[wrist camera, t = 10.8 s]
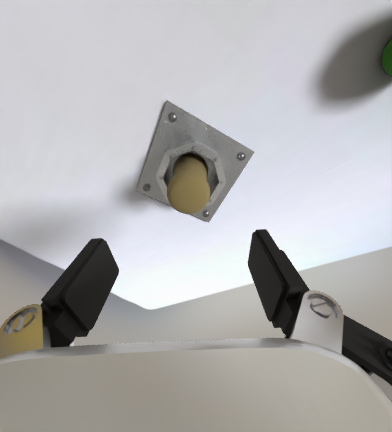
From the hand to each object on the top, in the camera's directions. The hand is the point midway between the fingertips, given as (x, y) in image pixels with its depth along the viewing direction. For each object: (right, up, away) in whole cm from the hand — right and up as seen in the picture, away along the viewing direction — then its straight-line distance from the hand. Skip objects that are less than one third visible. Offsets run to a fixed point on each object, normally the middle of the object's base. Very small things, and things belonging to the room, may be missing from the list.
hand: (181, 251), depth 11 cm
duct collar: (0, +10, +18) cm, 20 cm away
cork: (0, +10, +17) cm, 20 cm away
